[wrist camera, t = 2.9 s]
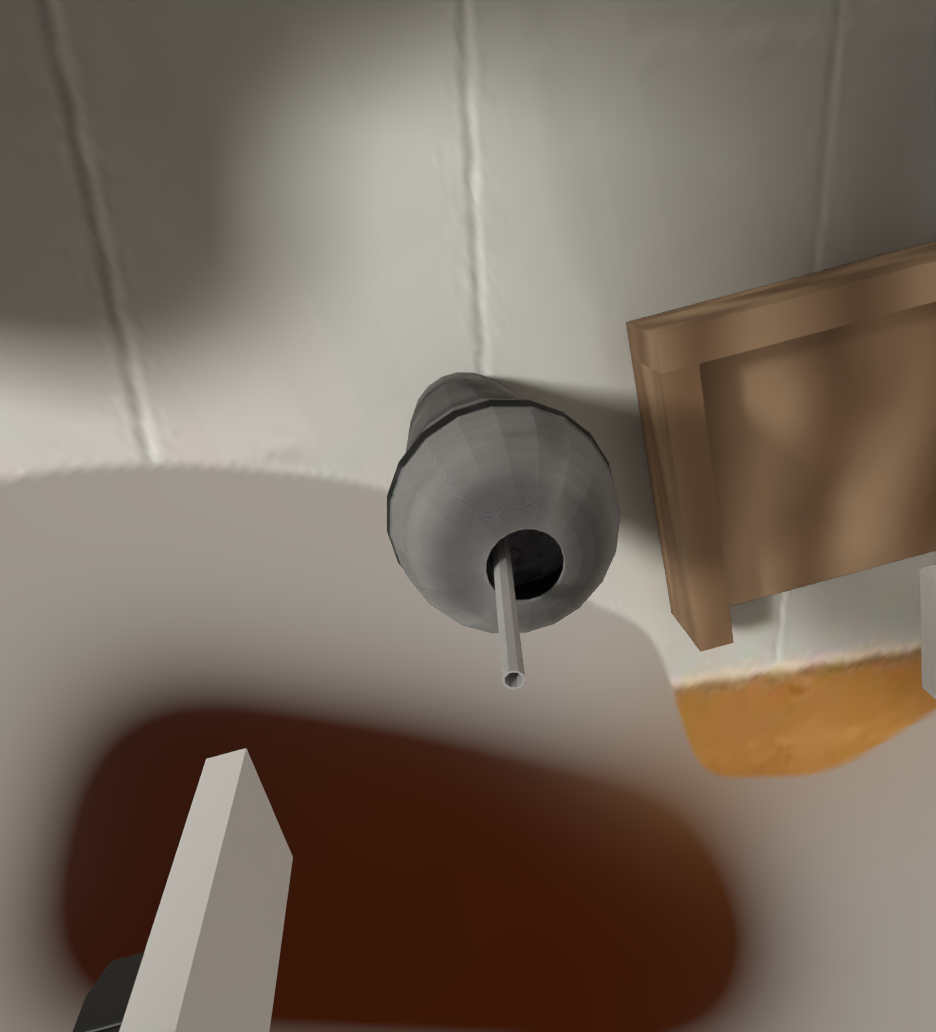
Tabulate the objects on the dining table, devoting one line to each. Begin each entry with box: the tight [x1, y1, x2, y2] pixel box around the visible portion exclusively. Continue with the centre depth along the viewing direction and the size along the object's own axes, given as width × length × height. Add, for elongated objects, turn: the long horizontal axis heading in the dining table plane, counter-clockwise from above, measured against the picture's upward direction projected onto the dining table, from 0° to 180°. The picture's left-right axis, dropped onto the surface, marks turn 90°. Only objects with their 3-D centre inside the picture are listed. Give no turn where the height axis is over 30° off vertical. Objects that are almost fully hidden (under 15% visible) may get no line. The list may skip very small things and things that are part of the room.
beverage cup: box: [387, 373, 620, 689], centre depth 26 cm, size 7×7×20 cm
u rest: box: [626, 241, 936, 652], centre depth 35 cm, size 16×15×4 cm
